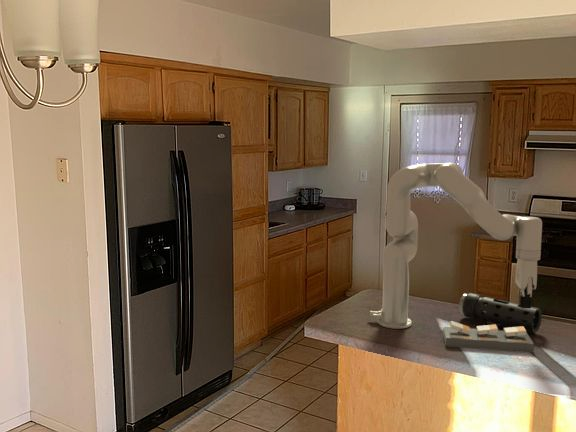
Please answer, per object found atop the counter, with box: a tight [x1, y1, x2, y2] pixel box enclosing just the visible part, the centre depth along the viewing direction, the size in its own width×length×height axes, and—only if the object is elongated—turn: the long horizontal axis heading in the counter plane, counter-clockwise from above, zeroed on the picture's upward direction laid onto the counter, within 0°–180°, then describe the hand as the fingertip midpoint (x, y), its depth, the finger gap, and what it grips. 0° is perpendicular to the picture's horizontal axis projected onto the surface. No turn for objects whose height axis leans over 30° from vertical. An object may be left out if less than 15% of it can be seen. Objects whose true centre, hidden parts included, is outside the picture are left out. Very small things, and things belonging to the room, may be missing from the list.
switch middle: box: [476, 323, 499, 334], centre depth 196 cm, size 6×5×2 cm
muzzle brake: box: [458, 292, 543, 336], centre depth 213 cm, size 10×28×10 cm, turn 47°
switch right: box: [503, 326, 528, 336], centre depth 194 cm, size 6×5×2 cm
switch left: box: [449, 320, 471, 335], centre depth 198 cm, size 6×5×2 cm
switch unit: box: [442, 326, 535, 354], centre depth 196 cm, size 28×11×4 cm, turn 80°
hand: (525, 307), depth 192 cm, fingers closed
